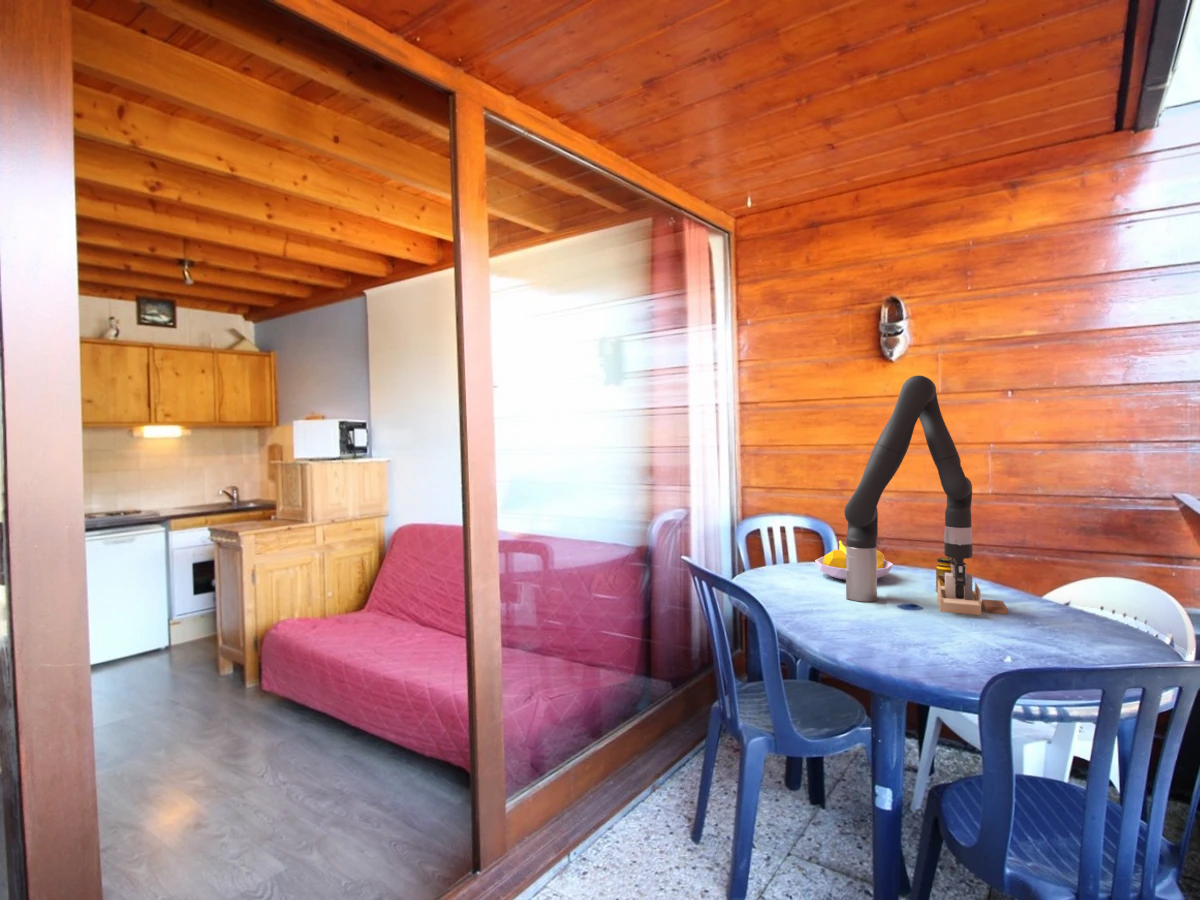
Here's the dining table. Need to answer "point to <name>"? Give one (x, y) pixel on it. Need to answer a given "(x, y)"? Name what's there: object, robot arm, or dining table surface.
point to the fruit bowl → (837, 563)
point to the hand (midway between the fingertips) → (958, 595)
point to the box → (951, 587)
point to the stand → (994, 606)
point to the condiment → (942, 570)
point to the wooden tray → (959, 602)
